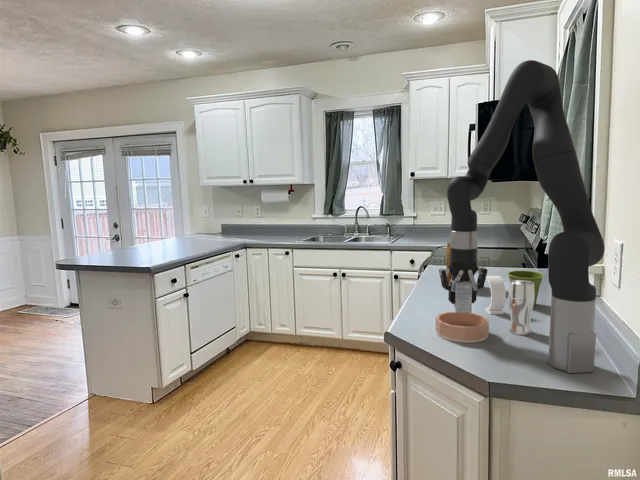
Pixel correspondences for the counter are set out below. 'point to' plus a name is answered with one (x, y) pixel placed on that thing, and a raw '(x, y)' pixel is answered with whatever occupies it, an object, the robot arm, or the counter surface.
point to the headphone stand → (496, 295)
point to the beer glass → (521, 306)
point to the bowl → (462, 327)
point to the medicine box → (463, 297)
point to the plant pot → (528, 279)
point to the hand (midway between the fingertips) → (462, 302)
